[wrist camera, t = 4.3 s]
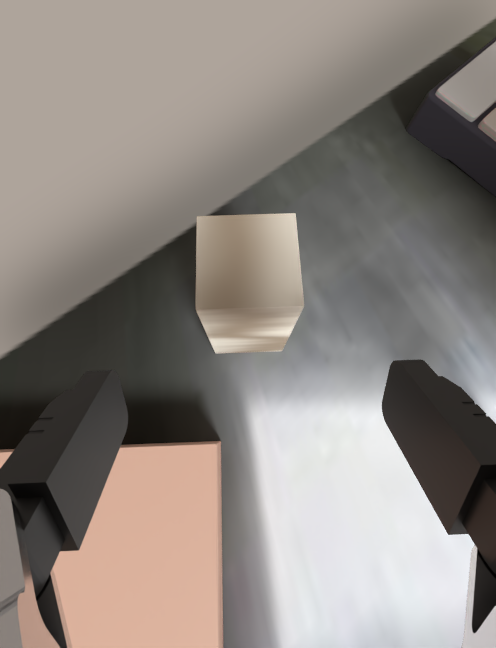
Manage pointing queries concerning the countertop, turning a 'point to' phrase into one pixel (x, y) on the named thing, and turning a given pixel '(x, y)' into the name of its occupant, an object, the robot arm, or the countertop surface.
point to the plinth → (149, 553)
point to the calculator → (463, 117)
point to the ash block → (248, 280)
